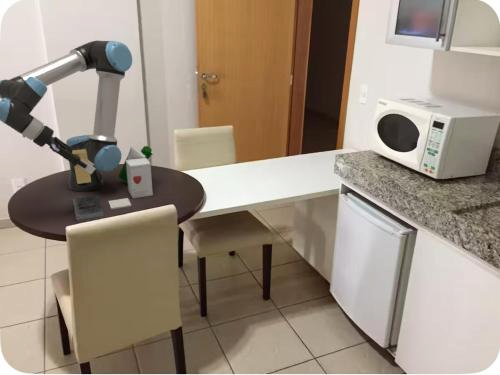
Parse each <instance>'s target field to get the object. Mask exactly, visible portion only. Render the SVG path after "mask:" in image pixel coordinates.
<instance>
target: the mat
mask: <svg viewBox="0 0 500 375" xmlns="http://www.w3.org/2000/svg"><path fill="white" fill-rule="evenodd" d="M108 204H109V206H110V210H116V209H117V210H118V209H122V208H123V209H124V208H129V207H130V208H131V207H132V204H131V202H130V199H129V198H128V197H126V198H120V199H113V200H108Z"/></svg>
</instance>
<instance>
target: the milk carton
mask: <svg viewBox="0 0 500 375" xmlns="http://www.w3.org/2000/svg"><path fill="white" fill-rule="evenodd" d="M153 154H154V151H153V150H152V147H150V146H147V145H145V144H143V143H142V142H139V143H136V144H134V145H131V146H130V149H129V151H128V154H127V156H126V158H125V160H124V163H123V164H122V167H121V170H120V172H119V173H118V176H117V177H118V178H120V179H121V180H122V181H123V182H125V183H126V184H127V185H128V180H127V169H126V160H132V159H140V158H146V159H147V160H148V161H149V162H150V160H151V158H152V156H153Z"/></svg>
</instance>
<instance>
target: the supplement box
mask: <svg viewBox="0 0 500 375" xmlns="http://www.w3.org/2000/svg"><path fill="white" fill-rule="evenodd" d="M125 160H126V159H125ZM126 169H127V180H128V184H127V189H128V190H127V191H128V192H129V194H130V196H131V198H132V199H138V198H145V197H149V196H150V197H151V196H153V195H154V192H153V181H152V180H153V179H152V167H151V162H150V160H149V161H148V160H147V159H146V158H140V159H132V160H126Z"/></svg>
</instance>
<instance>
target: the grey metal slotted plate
mask: <svg viewBox="0 0 500 375" xmlns="http://www.w3.org/2000/svg"><path fill="white" fill-rule="evenodd" d="M72 204H73V210H74V214H75V220H76V221H82V220H89V219H95V218H102V217H104V215H105V214H104V210H103V207H102V203H101V200H100V197H99V195H98V194H97V195H92V196H84V197H76V198H72Z"/></svg>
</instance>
